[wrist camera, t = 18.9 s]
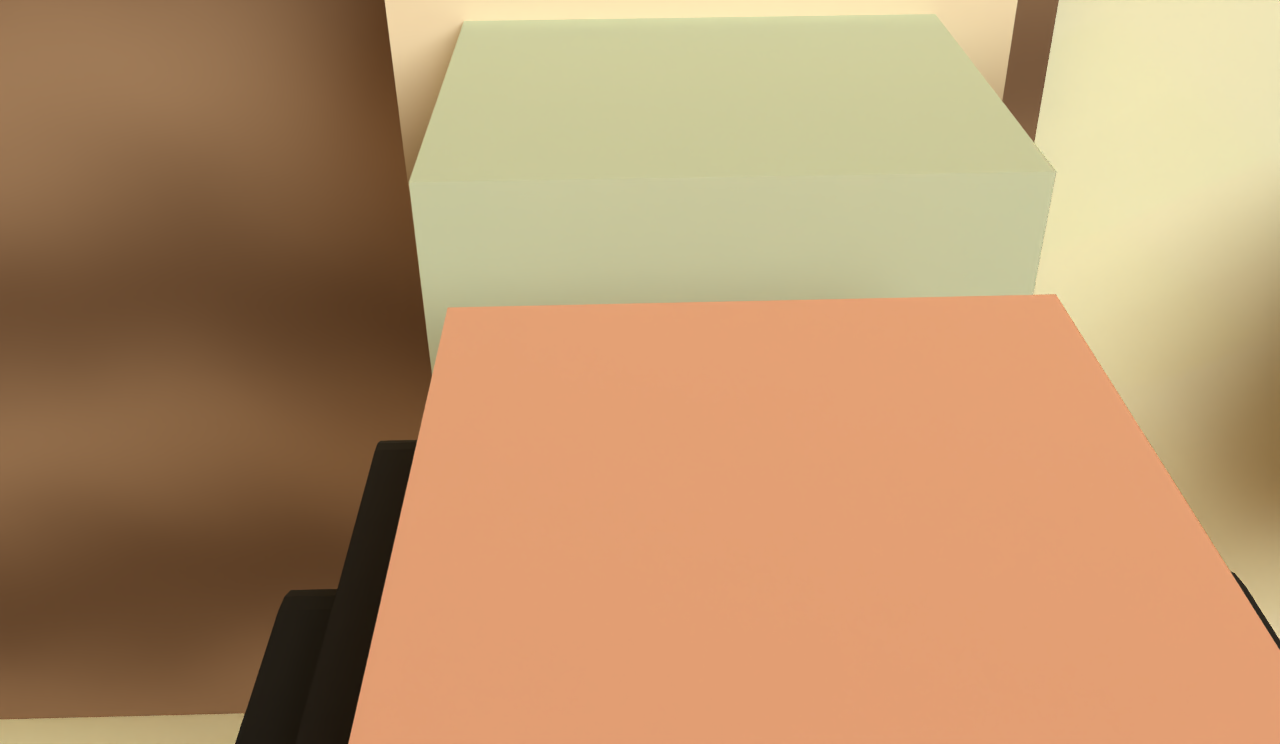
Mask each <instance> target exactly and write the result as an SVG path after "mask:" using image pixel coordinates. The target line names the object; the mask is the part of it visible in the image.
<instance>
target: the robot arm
mask: <svg viewBox="0 0 1280 744" xmlns="http://www.w3.org/2000/svg"><path fill="white" fill-rule="evenodd" d="M416 444H417V440H388V441H380V442H378V443H377V446H376V449H375V452H374V455H373V459H372V463H371V466H370V470H369V474H368V477H367V481H366V485H365V488H364V492H363V496H362V500H361V503H360V507H359V511H358V514H357V518H356V522H355V525H354V529H353V533H352V536H351V540H350V544H349V547H348V551H347V555H346V559H345V562H344V566H343V570H342V573H341V577H340V581H339V584H338V588H337V589H311V590H290V591H289V592H288V593H287V594H286V595H285V596H284V598H283V601H282V603H281V605H280V608H279V610H278V613H277V616H276V619H275V622H274V625H273V628H272V631H271V635H270V638H269V641H268V644H267V647H266V650H265V653H264V656H263V659H262V662H261V666H260V669H259V672H258V675H257V678H256V681H255V684H254V687H253V690H252V693H251V696H250V700H249V703H248V706H247V709H246V712H245V715H244V718H243V721H242V724H241V727H240V730H239V734H238V737H237V740H236V743H235V744H348V743H349V739H350V734H351V730H352V726H353V721H354V717H355V713H356V708H357V704H358V699H359V695H360V691H361V686H362V682H363V677H364V673H365V669H366V664H367V660H368V655H369V651H370V647H371V642H372V638H373V633H374V629H375V625H376V620H377V616H378V611H379V607H380V603H381V598H382V594H383V589H384V585H385V581H386V576H387V572H388V567H389V563H390V559H391V554H392V550H393V545H394V541H395V537H396V532H397V528H398V523H399V519H400V515H401V510H402V506H403V501H404V497H405V493H406V488H407V484H408V479H409V475H410V471H411V466H412V462H413V457H414V453H415V449H416ZM1230 572H1231V571H1230ZM1231 573H1232V575H1233V577H1234V578H1235V580H1236V581H1237V583H1238V584H1239V586H1240V588H1241V589H1242V591H1243V592H1244V594H1245V596H1246V597H1247V599H1248V600H1249V602H1250V604H1251V605H1252V607H1253V608H1254V610H1255V611H1256V613H1257V615H1258V616H1259V618H1260V619H1261V621H1262V623H1263V624H1264V626H1265V627H1266V629H1267V631H1268V632H1269V634H1270V635H1271V637H1272V638H1273V640H1274V642H1275V643H1276V645H1277V646H1278V648H1279V650H1280V640H1279V638H1278V637H1277V635H1276V634H1275V632H1274V630H1273V629H1272V627H1271V626H1270V624H1269V622H1268V621H1267V619H1266V618H1265V616H1264V615H1263V613H1262V611H1261V610H1260V608H1259V607H1258V605H1257V604H1256V602H1255V600H1254V599H1253V597H1252V596H1251V594H1250V592H1249V591H1248V589H1247V588H1246V586H1245V585H1244V584H1243V583H1242V581H1241V580H1240V579H1239V578H1238V577H1237V576H1236V574H1235V573H1233V572H1231Z"/></svg>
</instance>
